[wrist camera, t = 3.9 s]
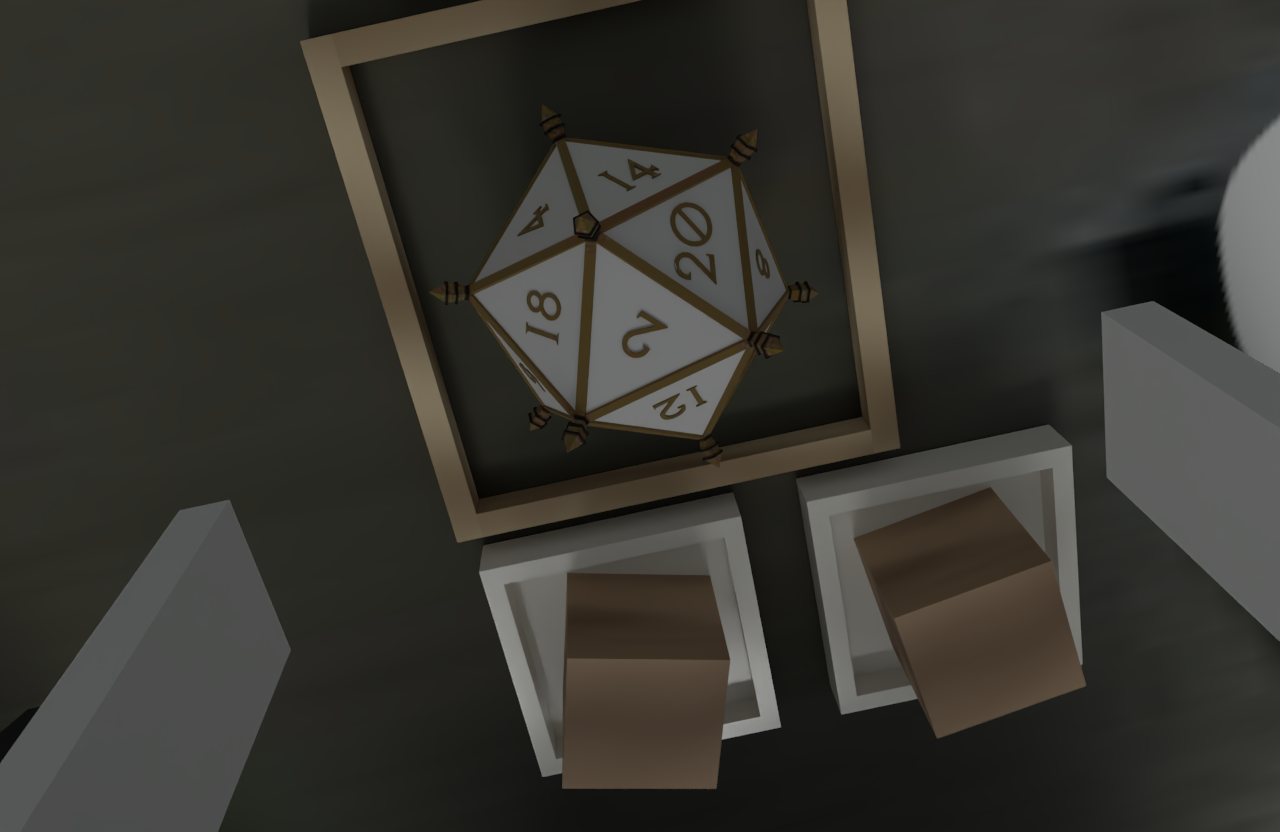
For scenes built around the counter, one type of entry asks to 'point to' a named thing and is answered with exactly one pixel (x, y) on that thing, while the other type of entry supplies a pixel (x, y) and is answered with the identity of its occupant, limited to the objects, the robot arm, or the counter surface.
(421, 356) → the oak frame
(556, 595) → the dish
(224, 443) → the counter surface
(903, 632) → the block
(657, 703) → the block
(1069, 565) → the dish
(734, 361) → the game die
